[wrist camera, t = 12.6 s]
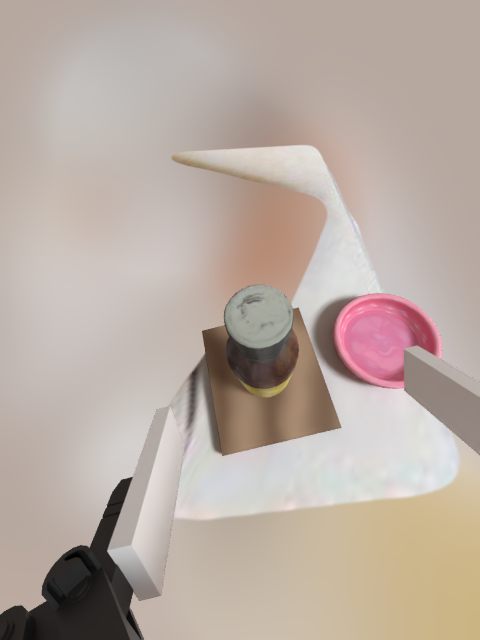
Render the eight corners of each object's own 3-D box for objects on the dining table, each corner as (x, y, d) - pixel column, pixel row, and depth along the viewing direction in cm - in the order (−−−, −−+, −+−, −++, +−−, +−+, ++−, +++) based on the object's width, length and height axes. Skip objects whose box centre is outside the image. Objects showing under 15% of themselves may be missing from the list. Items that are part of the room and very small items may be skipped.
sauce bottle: (247, 345, 35) (224, 250, 17) (294, 356, 33) (323, 267, 15) (233, 394, 32) (189, 346, 14) (283, 408, 31) (303, 374, 13)
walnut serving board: (224, 455, 31) (222, 455, 30) (204, 334, 38) (202, 330, 37) (338, 428, 31) (341, 427, 30) (297, 312, 38) (298, 307, 36)
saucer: (345, 398, 32) (352, 394, 30) (319, 311, 38) (323, 300, 35) (446, 383, 32) (463, 377, 29) (405, 297, 37) (416, 285, 34)
